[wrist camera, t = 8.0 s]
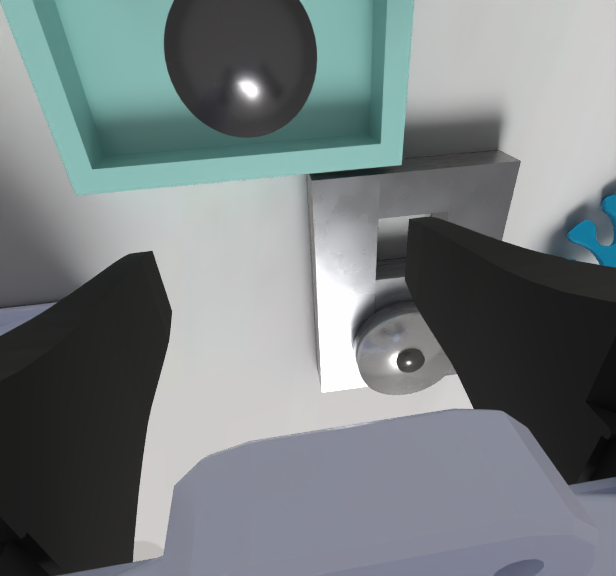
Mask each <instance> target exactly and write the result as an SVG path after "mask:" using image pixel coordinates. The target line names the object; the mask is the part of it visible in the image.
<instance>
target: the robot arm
mask: <svg viewBox="0 0 616 576" xmlns="http://www.w3.org/2000/svg"><path fill="white" fill-rule="evenodd" d="M405 282H406V284H407V287H408V289H409V292H410V294H411V297H412V299H413V301H414V303H415V306H416V307H417V309H418V311H419V312H420V314H421V316H422V317H423V319H424V321H425V322H426V324H427V325H428V327H429V329H430V330H431V332H432V333H433V335H434V337H435V338H436V340H437V341H438V343H439V345H440V346H441V348H442V349H443V351H444V352H445V354H446V356H447V357H448V359H449V360H450V362H451V364H452V366H453V367H454V369H455V371H456V373H457V374H458V376H459V378H460V381H461V383H462V385H463V387H464V389H465V391H466V393H467V395H468V397H469V399H470V402H471V404H472V406H473V408H474V409H449V410H442V411H436V412H430V413H424V414H417V415H411V416H405V417H398V418H392V419H386V420H380V421H373V422H367V423H361V424H354V425H348V426H342V427H336V428H329V429H323V430H317V431H311V432H304V433H298V434H292V435H285V436H279V437H273V438H267V439H260V440H254V441H249V442H246V443H243V444H240V445H237V446H234V447H231V448H228V449H226V450H223V451H220V452H217V453H214V454H211V455H208V456H207V457H205V458H203V459H202V460H201V461H199V462H198V463H197V464H196V465H195V466H194V467H193V468H192V469H191V470H190V471H189V472H188V473H187V474H186V475H185V476H184V477H183V478H182V479H181V480H180V481H179V482H178V483H177V484H176V485H174V490H173V497H172V503H171V510H170V516H169V523H168V529H167V536H166V542H165V549H164V555H163V556H161V557H158V558H154V559H149V560H143V561H138V562H133V549H134V536H135V526H136V515H137V504H138V494H139V485H140V477H141V469H142V460H143V453H144V446H145V439H146V432H147V425H148V420H149V416H150V411H151V407H152V403H153V399H154V396H155V392H156V388H157V384H158V381H159V377H160V373H161V370H162V366H163V362H164V359H165V355H166V351H167V347H168V343H169V337H170V328H171V317H172V310H171V307H170V304H169V300H168V297H167V294H166V291H165V288H164V285H163V282H162V279H161V276H160V273H159V270H158V267H157V264H156V261H155V258H154V254H153V251H148V252H140V253H132V254H128V255H126V256H124V257H123V258H121V259H119V260H118V261H116V262H115V263H113V264H112V265H111V266H109V267H108V268H106V269H105V270H103V271H102V272H101V273H99V274H98V275H97V276H95V277H94V278H92V279H91V280H90V281H88V282H87V283H85V284H84V285H83V286H81V287H80V288H78V289H77V290H75V291H74V292H72V293H71V294H69V295H68V296H66V297H65V298H63V299H62V300H60V301H59V302H56V303H47V304H38V305H29V306H21V307H12V308H3V309H0V576H616V267H609V266H603V265H597V264H591V263H585V262H580V261H575V260H570V259H565V258H561V257H557V256H553V255H548V254H544V253H540V252H536V251H533V250H529V249H526V248H522V247H519V246H516V245H513V244H510V243H507V242H503V241H501V240H498V239H495V238H492V237H489V236H486V235H484V234H481V233H478V232H476V231H473V230H470V229H468V228H465V227H462V226H459V225H457V224H454V223H451V222H448V221H445V220H442V219H439V218H435V217H422V218H414V219H409V228H408V242H407V256H406V270H405Z"/></svg>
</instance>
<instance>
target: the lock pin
mask: <svg viewBox="0 0 616 576" xmlns="http://www.w3.org/2000/svg"><path fill="white" fill-rule="evenodd" d="M164 55H165V62H166V66H167V71H168V74H169V77H170V79H171V82H172V84H173V86H174V88H175V91H176V92H177V94H178V96H179V97H180V99H181V101H182V102H183V103H184V105H185V106H186V107H187V108H188V110H189V111H190V112H191V113H192V114H193V115H194V116H195V117H196V118H198V119H199V120H200V121H201V122H203V123H204V124H205V125H207V126H209V127H210V128H212V129H214V130H216V131H218V132H220V133H223V134H226V135H229V136H234V137H240V138H252V137H260V136H264V135H267V134H270V133H273V132H275V131H277V130H279V129H280V128H282V127H284V126H285V125H286V124H288V123H289V122H290V121H291V120H292V119H293V118H294V117H295V116H296V115H297V114H298V113H299V112H300V110H301V109H302V108H303V106H304V104H305V103H306V101H307V99H308V97H309V95H310V93H311V90H312V87H313V84H314V81H315V75H316V70H317V46H316V39H315V34H314V31H313V27H312V24H311V21H310V19H309V16H308V14H307V12H306V10H305V8H304V7H303V5H302V3H301V2H300V0H174V1H173V3H172V6H171V8H170V10H169V13H168V17H167V20H166V24H165V31H164Z"/></svg>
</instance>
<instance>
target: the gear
mask: <svg viewBox="0 0 616 576" xmlns="http://www.w3.org/2000/svg"><path fill="white" fill-rule="evenodd" d="M601 207H602V210H603V211H604V212H605V213H606V214H607V215H608V216H609V217H610V219H611V221H612V223H613V226H614V240H613V243H612V244H611V245H610V246H602V245H600V244H599V243H598V242H597V240H596V232H597V230H596V226H595V224H594V223H593V222H591V221H590V220H585V221H583V222H581V223H579V224H578V225H576V226H575V227H574V228H573V229H571V230H570V231H569V232H568V233H567V238H568V239H569V240H570V241H571V242H573V243H576V244H579V245H581V246H584V247H585V248H587V249H589V250H590V251H591V252H592V253H593V255H594V256H595V257H596V259H597V260H598V262H599V264H600V265H603V266H609V267H616V194H614V195H611V196H609V197H606V198H605V199H604V200H603V201H602V203H601ZM567 259H569V258H567ZM570 260H574V259H570ZM575 261H576V260H575Z"/></svg>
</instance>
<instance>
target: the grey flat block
mask: <svg viewBox="0 0 616 576" xmlns="http://www.w3.org/2000/svg"><path fill="white" fill-rule="evenodd" d="M520 162H521V161H520V160H518V159H516V158H514V157H512V156H510V155H508V154H506V153H504V152H502V151H500V150H494V151H483V152H472V153H462V154H451V155H440V156H429V157H418V158H408V159H402V165H396V166H386V167H375V168H364V169H354V170H343V171H332V172H322V173H311V174H307V190H308V208H309V226H310V244H311V262H312V279H313V297H314V315H315V333H316V351H317V369H318V375H319V380H320V384H321V389H322V392H329V391H336V390H344V389H351V388H358V387H366V386H368V387H370V388H371V389H373V390H375V391H377V392H380V393H383V394H388V395H405V394H411V393H414V392H418V391H421V390H423V389H426V388H428V387H430V386H432V385H433V384H435V383H437V382H438V381H439V380H441V379H442V378H443V377H444V376H446V375H454V374H457V373H456V371H455V369H454V367H453V366H452V364H451V362H450V360H449V359H448V357H447V356H446V354H445V352H444V351H443V349H442V348H441V346H440V345H439V343H438V341H437V340H436V338H435V337H434V335H433V333H432V332H431V330H430V329H429V327H428V325H427V324H426V322H425V321H424V319H423V317H422V316H421V314H420V312H419V311H418V309H417V307H416V306H415V303H414V301H413V299H412V297H411V294H410V292H409V289H408V287H407V284H406V282H405V270H406V258H399V259H390V260H382V261H376V258H377V237H378V219H380V218H389V217H399V216H408V215H418V214H428V213H431V217H435V218H439V219H442V220H445V221H448V222H451V223H454V224H457V225H459V226H462V227H465V228H468V229H470V230H473V231H476V232H478V233H481V234H484V235H486V236H489V237H492V238H495V239H498V240H501V241H502V237H503V233H504V229H505V225H506V221H507V216H508V212H509V208H510V204H511V200H512V195H513V191H514V187H515V183H516V179H517V175H518V170H519V166H520Z"/></svg>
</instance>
